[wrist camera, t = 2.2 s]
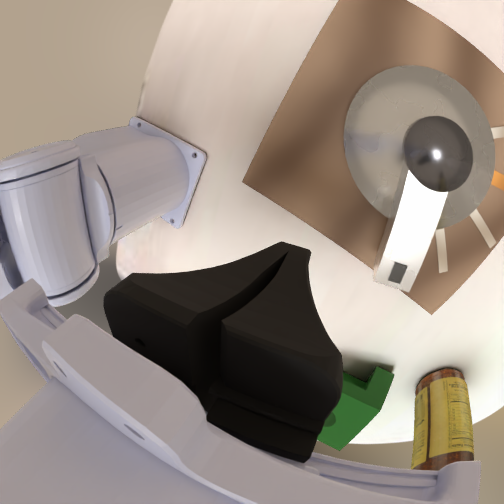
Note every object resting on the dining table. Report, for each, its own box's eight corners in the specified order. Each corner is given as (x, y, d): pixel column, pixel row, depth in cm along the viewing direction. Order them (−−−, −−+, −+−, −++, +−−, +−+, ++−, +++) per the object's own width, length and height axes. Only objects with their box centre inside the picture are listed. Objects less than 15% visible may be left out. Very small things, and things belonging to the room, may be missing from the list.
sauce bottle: (429, 404, 23) (404, 557, 7) (404, 383, 23) (368, 559, 7) (475, 379, 19) (469, 546, 3) (454, 354, 19) (445, 553, 3)
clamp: (352, 338, 29) (332, 367, 21) (396, 358, 26) (390, 395, 18) (312, 411, 31) (281, 449, 23) (349, 430, 28) (327, 473, 20)
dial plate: (250, 177, 20) (240, 182, 19) (355, -15, 10) (353, -25, 9) (429, 303, 19) (431, 316, 17) (547, 138, 8) (558, 141, 7)
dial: (355, 51, 12) (350, 28, 8) (498, 103, 9) (531, 102, 5) (322, 239, 18) (308, 271, 15) (448, 279, 15) (461, 317, 12)
